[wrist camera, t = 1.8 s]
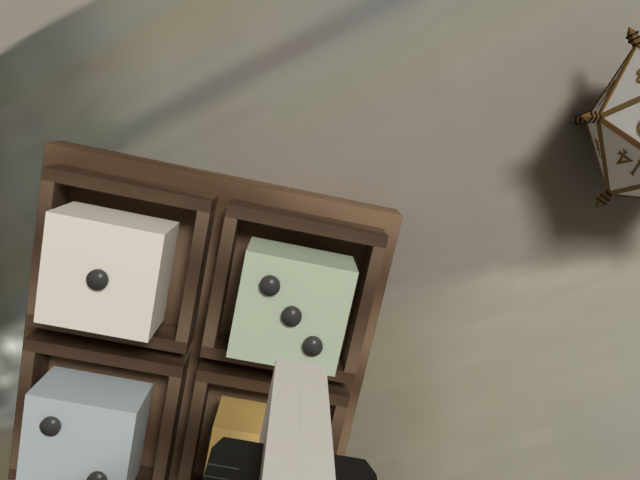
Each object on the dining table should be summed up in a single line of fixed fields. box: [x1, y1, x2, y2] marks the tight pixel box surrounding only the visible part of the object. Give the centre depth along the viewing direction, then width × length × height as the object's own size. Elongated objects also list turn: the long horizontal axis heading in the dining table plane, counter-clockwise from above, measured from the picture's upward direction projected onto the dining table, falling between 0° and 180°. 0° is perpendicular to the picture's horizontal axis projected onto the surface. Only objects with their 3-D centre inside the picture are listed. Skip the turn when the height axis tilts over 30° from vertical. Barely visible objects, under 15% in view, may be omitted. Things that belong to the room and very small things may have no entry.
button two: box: [16, 366, 154, 480], centre depth 27 cm, size 5×5×3 cm
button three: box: [226, 237, 359, 377], centre depth 26 cm, size 5×5×3 cm
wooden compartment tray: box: [8, 141, 403, 480], centre depth 30 cm, size 18×18×4 cm
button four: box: [203, 396, 267, 477], centre depth 28 cm, size 5×5×3 cm
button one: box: [33, 201, 180, 343], centre depth 26 cm, size 5×5×3 cm
